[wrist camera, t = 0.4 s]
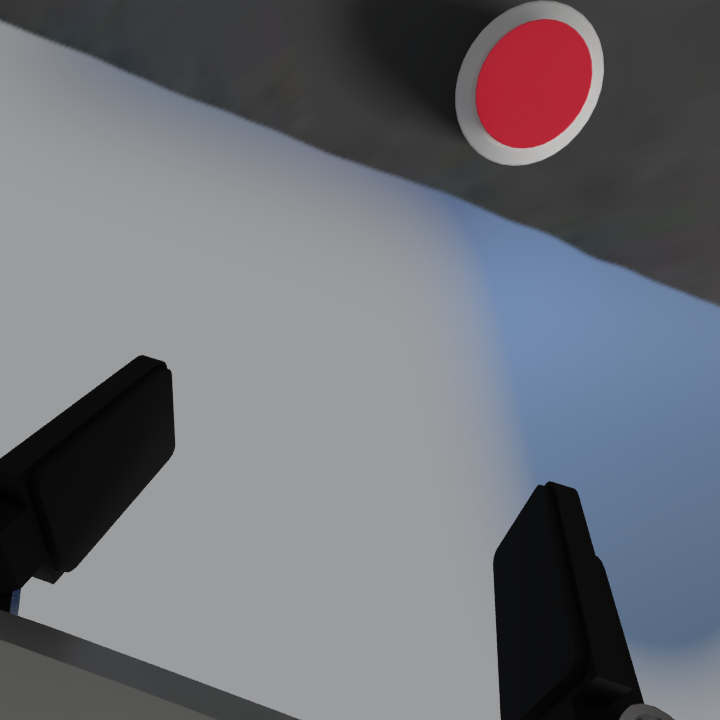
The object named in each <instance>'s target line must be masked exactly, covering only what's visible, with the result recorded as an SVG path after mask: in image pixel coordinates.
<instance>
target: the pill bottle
mask: <svg viewBox="0 0 720 720" xmlns="http://www.w3.org/2000/svg"><path fill="white" fill-rule="evenodd" d="M603 75H604V61H603V52H602V48H601V44H600V40H599V38H598V36H597V34H596V32H595V30H594V28H593V26H592V24H591V23H590V22H589V21H588V20H587V19H586V18H585V17H584V15H583V14H582V13H580V12H578V11H577V10H575V9H574V8H572V7H571V6H569V5H566V4H563V3H560V2H557V1H546V0H538V1H533V2H527V3H523V4H521V5H518V6H516V7H513V8H511V9H509V10H507V11H506V12H504V13H502V14H501V15H499V16H498V17H496V18H495V19H494V20H493V21H492V22H491V23H489V24H488V25H487V26H486V27H485V28H484V29H483V30H482V31H481V33H480V34H479V35H478V37H477V38H476V39H475V40H474V42H473V43H472V44H471V46H470V48H469V50H468V52H467V54H466V56H465V58H464V59H463V62H462V65H461V68H460V71H459V74H458V78H457V84H456V90H455V108H456V114H457V120H458V123H459V125H460V128H461V131H462V133H463V135H464V136H465V138H466V140H467V141H468V143H469V144H470V145H471V146H472V147H473V148H474V149H475V150H476V151H477V152H478V153H479V154H480V155H482V156H483V157H485V158H487V159H488V160H490V161H493V162H496V163H499V164H503V165H511V166H518V165H528V164H531V163H535V162H538V161H542V160H544V159H546V158H548V157H550V156H552V155H554V154H555V153H557V152H558V151H559V150H561V149H562V148H564V147H565V146H566V145H568V144H569V143H570V142H571V141H572V140H573V139H574V138H575V137H576V136H577V135H578V134H579V132H580V131H581V129H582V128H583V127H584V125H585V124H586V123H587V121H588V120H589V118H590V116H591V114H592V112H593V110H594V108H595V106H596V104H597V101H598V98H599V95H600V91H601V88H602V82H603Z"/></svg>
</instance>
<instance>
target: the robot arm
mask: <svg viewBox="0 0 720 720" xmlns="http://www.w3.org/2000/svg"><path fill="white" fill-rule="evenodd" d="M174 432H175V431H174V410H173V390H172V373H171V371H170V370H169V369H167V365H166V363H165V362H163V361H160V360H157V359H153V358H150V357H147V356H144V355H141V356H138V357H136V358H135V359H134V360H132V361H131V362H130V363H128V364H127V365H126V366H124V367H123V368H122V369H120V370H119V371H118V372H116V373H115V374H114V375H112V376H111V377H109V378H108V379H107V380H106V381H104V382H103V383H101V384H100V385H99V386H97V387H96V388H95V389H93V390H92V391H91V392H89V393H88V394H87V395H85V396H84V397H82V398H81V399H80V400H79V401H77V402H76V403H74V404H73V405H72V406H70V407H69V408H68V409H66V410H65V411H64V412H62V413H61V414H60V415H58V416H57V417H56V418H54V419H53V420H52V421H50V422H49V423H47V424H46V425H45V426H44V427H42V428H41V429H40V430H38V431H37V432H35V433H34V434H33V435H31V436H30V437H29V438H27V439H26V440H25V441H23V442H22V443H21V444H19V445H18V446H17V447H15V448H14V449H12V450H11V451H10V452H8V453H7V454H6V455H4V456H3V457H2V458H0V720H299V719H297V718H294V717H291V716H289V715H286V714H284V713H281V712H278V711H276V710H273V709H270V708H268V707H265V706H262V705H260V704H256V703H254V702H252V701H249V700H246V699H243V698H241V697H238V696H236V695H233V694H230V693H228V692H225V691H222V690H219V689H217V688H214V687H211V686H209V685H206V684H203V683H201V682H198V681H195V680H192V679H190V678H187V677H184V676H182V675H179V674H176V673H174V672H171V671H168V670H166V669H163V668H160V667H158V666H155V665H152V664H149V663H147V662H144V661H141V660H139V659H136V658H133V657H130V656H128V655H125V654H122V653H120V652H117V651H114V650H111V649H109V648H106V647H103V646H100V645H98V644H95V643H92V642H89V641H87V640H84V639H81V638H78V637H76V636H73V635H71V634H68V633H65V632H62V631H60V630H57V629H54V628H51V627H49V626H46V625H43V624H40V623H37V622H34V621H31V620H28V619H25V618H22V617H20V616H18V610H19V601H20V592H21V588H22V587H23V586H24V584H25V583H26V582H27V581H28V580H29V579H30V578H31V577H35V578H38V579H41V580H43V581H46V582H49V583H52V584H54V583H55V582H56V581H57V580H58V579H59V578H60V577H61V576H62V574H63V573H64V572H70V571H72V570H73V569H74V568H76V567H77V566H78V565H79V563H80V562H81V561H82V560H83V559H84V558H85V556H86V555H87V554H88V553H89V552H90V551H91V549H92V548H93V547H94V546H95V545H96V544H97V542H98V541H99V540H100V539H101V538H102V537H103V536H104V534H105V533H106V532H107V531H108V529H110V527H111V526H112V525H113V524H114V523H115V522H116V520H117V519H118V518H119V517H120V516H121V515H122V513H123V512H124V511H125V510H126V509H127V508H128V507H129V505H130V504H131V503H132V502H133V501H134V500H135V498H136V497H137V496H138V495H139V494H140V493H141V491H142V490H143V489H144V488H145V487H146V486H147V484H148V483H149V482H150V481H151V480H152V479H153V478H154V476H155V475H156V474H157V473H158V472H159V470H160V469H161V468H162V467H163V466H164V465H165V463H166V462H167V461H168V460H169V459H170V457H171V456H172V454H173V452H174V449H175V433H174ZM493 571H494V592H495V610H496V611H495V612H496V632H497V652H498V673H499V693H500V713H501V720H674V719H673V718H672V717H671V716H670V715H668V714H667V713H665V712H663V711H661V710H660V709H658V708H656V707H654V706H650V705H646V704H644V701H643V698H642V695H641V691H640V688H639V685H638V681H637V677H636V674H635V671H634V667H633V664H632V660H631V657H630V653H629V650H628V647H627V643H626V640H625V636H624V633H623V629H622V626H621V623H620V620H619V616H618V612H617V609H616V606H615V602H614V599H613V596H612V592H611V589H610V585H609V582H608V578H607V575H606V571H605V568H604V566H603V563H602V561H601V560H600V559H599V558H598V557H597V556H595V552H594V548H593V545H592V542H591V538H590V534H589V531H588V527H587V524H586V520H585V517H584V513H583V509H582V506H581V502H580V498H579V495H578V493H577V491H576V490H575V489H574V488H571V487H567V486H564V485H561V484H557V483H554V482H550V481H549V482H547V483H546V485H545V486H543V485H538V486H537V487H536V489H535V490H534V492H533V493H532V495H531V496H530V498H529V500H528V501H527V503H526V504H525V506H524V508H523V509H522V511H521V512H520V514H519V515H518V517H517V518H516V520H515V522H514V523H513V525H512V526H511V528H510V529H509V531H508V532H507V534H506V536H505V537H504V539H503V541H502V542H501V543H500V545H499V547H498V548H497V550H496V552H495V555H494V561H493Z"/></svg>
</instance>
